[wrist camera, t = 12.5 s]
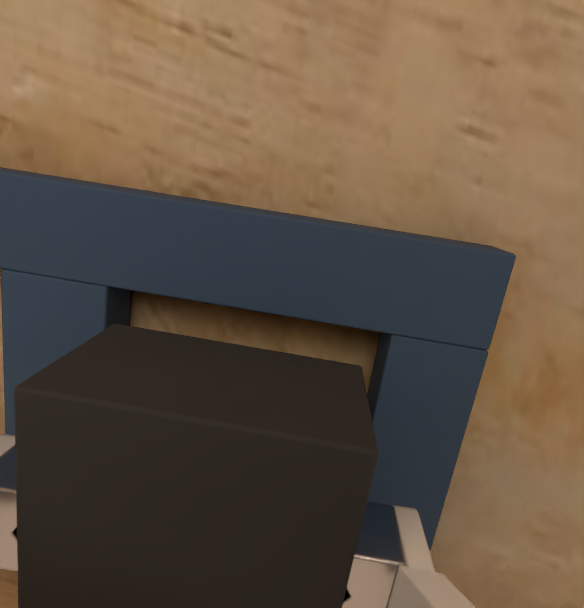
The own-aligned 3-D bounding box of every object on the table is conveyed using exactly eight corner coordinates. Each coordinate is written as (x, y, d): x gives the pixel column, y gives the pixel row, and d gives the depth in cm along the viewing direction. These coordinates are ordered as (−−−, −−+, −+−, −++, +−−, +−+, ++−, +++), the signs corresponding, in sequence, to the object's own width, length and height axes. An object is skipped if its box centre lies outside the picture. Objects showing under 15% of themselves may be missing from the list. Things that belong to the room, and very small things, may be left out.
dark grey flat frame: (493, 245, 11) (518, 254, 10) (396, 599, 15) (403, 644, 13) (-295, 120, 12) (-379, 110, 11) (-224, 481, 15) (-281, 512, 14)
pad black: (362, 365, 10) (380, 452, 7) (319, 567, 12) (316, 719, 8) (113, 321, 10) (11, 386, 7) (104, 527, 12) (17, 660, 9)
